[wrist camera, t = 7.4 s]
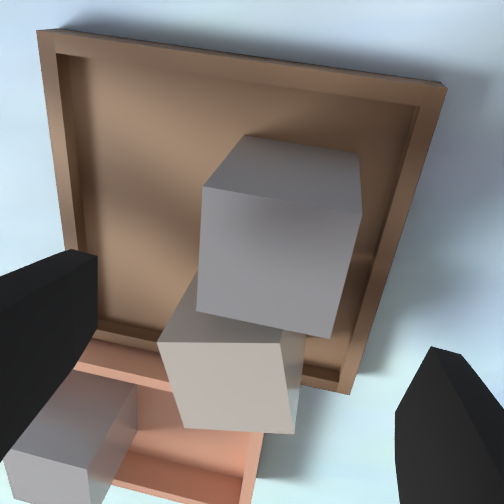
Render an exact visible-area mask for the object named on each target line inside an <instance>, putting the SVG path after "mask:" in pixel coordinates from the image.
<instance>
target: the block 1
mask: <svg viewBox="0 0 504 504" xmlns="http://www.w3.org/2000/svg"><path fill="white" fill-rule="evenodd" d="M137 431H138V430H137V384H134V383H130V382H125V381H121V380H117V379H112V378H108V377H104V376H99V375H95V374H91V373H87V372H82V371H78V370H74V369H72V371H71V372H70V373H69V375H68V376H67V377H66V379H65V380H64V381H63V383H62V384H61V385H60V386H59V388H58V389H57V390H56V392H55V393H54V394H53V396H52V397H51V398H50V399H49V401H48V402H47V403H46V404H45V406H44V407H43V408H42V410H41V411H40V412H39V413H38V415H37V416H36V417H35V418H34V420H33V421H32V422H31V424H30V425H29V426H28V427H27V429H26V430H25V431H24V433H23V434H22V435H21V436H20V438H19V439H18V440H17V441H16V443H15V444H14V445H13V447H12V448H11V449H10V450H9V452H8V453H7V454H6V455H5V457H4V458H3V461H4V465H5V468H6V472H7V476H8V479H9V483H10V486H11V490H12V493H13V497H14V499H17V500H21V501H24V502H28V503H31V504H102V502H103V500H104V498H105V496H106V494H107V492H108V490H109V488H110V486H111V484H112V481H113V479H114V477H115V475H116V473H117V471H118V469H119V467H120V465H121V463H122V461H123V459H124V457H125V455H126V453H127V451H128V449H129V447H130V445H131V443H132V441H133V439H134V437H135V435H136V433H137Z"/></svg>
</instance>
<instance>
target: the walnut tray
mask: <svg viewBox="0 0 504 504" xmlns="http://www.w3.org/2000/svg"><path fill="white" fill-rule="evenodd" d="M36 33H37V41H38V48H39V56H40V63H41V71H42V79H43V86H44V94H45V101H46V109H47V116H48V124H49V132H50V139H51V147H52V154H53V162H54V170H55V177H56V185H57V192H58V200H59V208H60V215H61V223H62V230H63V238H64V246H65V251H66V250H69V249H74V250H78V251H81V252H85V253H89V254H92V255H96V256H98V328H97V330H96V331H95V333H94V335H93V337H92V338H95V339H99V340H104V341H108V342H113V343H117V344H122V345H126V346H131V347H135V348H140V349H144V350H149V351H153V352H158V353H160V351H159V348H158V345H157V341H158V339H159V337H160V335H161V334H162V332H163V330H164V328H165V327H166V325H167V323H168V321H169V320H170V318H171V316H172V314H173V312H174V311H175V309H176V307H177V305H178V304H179V302H180V300H181V298H182V297H183V295H184V293H185V291H186V290H187V288H188V286H189V284H190V283H191V281H192V279H193V277H194V276H195V274H196V272H197V270H198V267H199V248H200V228H201V209H202V189H203V185H204V184H205V183H206V181H207V180H208V179H209V178H210V176H211V175H212V174H213V173H214V171H215V170H216V169H217V168H218V166H219V165H220V164H221V163H222V162H223V160H224V159H225V158H226V157H227V155H228V154H229V153H230V152H231V150H232V149H233V148H234V147H235V145H236V144H237V143H238V142H239V140H240V139H241V138H242V137H243V135H246V136H252V137H258V138H265V139H271V140H277V141H283V142H289V143H296V144H302V145H308V146H314V147H320V148H327V149H333V150H339V151H345V152H351V153H358V154H359V168H360V184H361V199H362V218H361V222H360V226H359V230H358V233H357V237H356V241H355V245H354V249H353V253H352V256H351V260H350V264H349V268H348V272H347V276H346V279H345V283H344V287H343V291H342V295H341V298H340V302H339V306H338V310H337V314H336V318H335V321H334V325H333V329H332V333H331V337H330V339H327V338H322V337H317V336H312V335H308V334H306V345H305V353H304V361H303V369H302V377H301V385H306V386H310V387H315V388H319V389H324V390H328V391H333V392H337V393H342V394H346V395H350V393H351V389H352V386H353V383H354V380H355V377H356V374H357V371H358V368H359V364H360V361H361V358H362V355H363V352H364V349H365V346H366V343H367V339H368V336H369V333H370V330H371V327H372V324H373V321H374V318H375V314H376V311H377V308H378V305H379V302H380V299H381V296H382V293H383V289H384V286H385V283H386V280H387V277H388V274H389V271H390V268H391V264H392V261H393V258H394V255H395V252H396V249H397V246H398V242H399V239H400V236H401V233H402V230H403V227H404V224H405V221H406V217H407V214H408V211H409V208H410V205H411V202H412V199H413V196H414V192H415V189H416V186H417V183H418V180H419V177H420V174H421V171H422V167H423V164H424V161H425V158H426V155H427V152H428V149H429V146H430V142H431V139H432V136H433V133H434V130H435V127H436V124H437V121H438V117H439V114H440V111H441V108H442V105H443V102H444V99H445V96H446V92H447V89H448V88H446V87H445V86H444V85H443V84H442V83H441V82H435V81H428V80H421V79H414V78H406V77H399V76H392V75H385V74H378V73H371V72H364V71H357V70H349V69H342V68H335V67H328V66H321V65H314V64H307V63H300V62H292V61H285V60H278V59H271V58H264V57H257V56H250V55H243V54H235V53H228V52H221V51H214V50H207V49H200V48H193V47H186V46H178V45H171V44H164V43H157V42H150V41H143V40H136V39H129V38H121V37H114V36H107V35H100V34H93V33H86V32H79V31H72V30H64V29H46V30H36Z"/></svg>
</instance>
